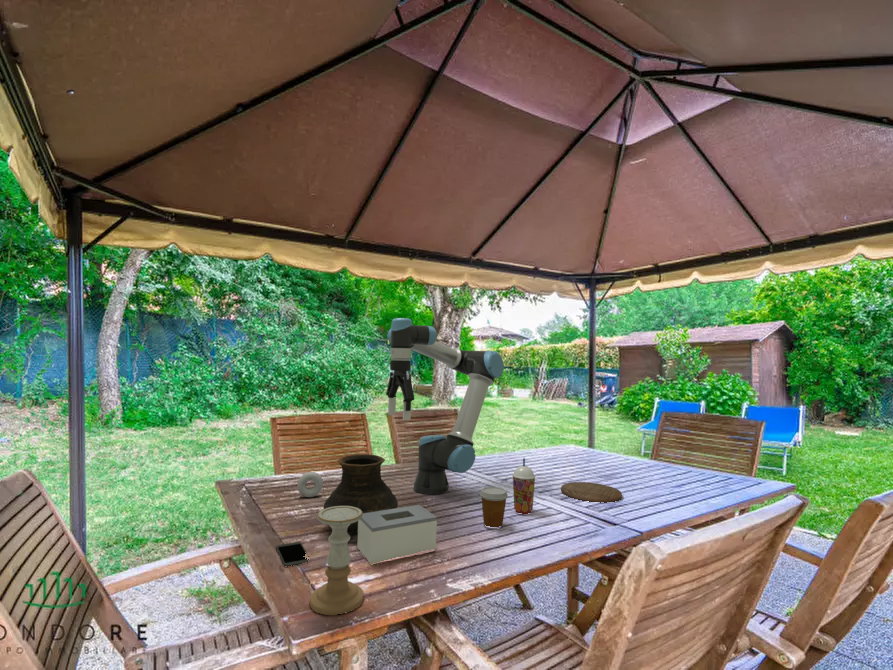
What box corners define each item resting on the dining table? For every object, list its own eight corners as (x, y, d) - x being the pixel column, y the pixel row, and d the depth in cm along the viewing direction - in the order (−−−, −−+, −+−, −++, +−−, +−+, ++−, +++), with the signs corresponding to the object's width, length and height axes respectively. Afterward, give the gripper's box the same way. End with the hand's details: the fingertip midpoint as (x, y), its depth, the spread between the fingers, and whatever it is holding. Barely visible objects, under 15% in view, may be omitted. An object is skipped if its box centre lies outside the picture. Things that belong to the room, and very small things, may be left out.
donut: (322, 494, 181) (323, 470, 181) (323, 497, 177) (324, 472, 178) (296, 496, 177) (297, 471, 178) (296, 499, 174) (297, 473, 175)
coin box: (418, 536, 141) (419, 504, 142) (435, 551, 131) (436, 517, 131) (357, 548, 131) (358, 514, 132) (371, 565, 121) (372, 528, 121)
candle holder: (297, 608, 100) (301, 517, 101) (330, 583, 111) (333, 501, 112) (344, 621, 95) (347, 526, 96) (373, 593, 107) (376, 508, 108)
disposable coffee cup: (489, 533, 145) (489, 496, 146) (474, 523, 154) (474, 488, 154) (512, 528, 150) (513, 492, 150) (496, 519, 158) (497, 485, 159)
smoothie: (507, 512, 166) (508, 458, 167) (520, 507, 172) (520, 455, 173) (526, 518, 160) (527, 462, 161) (538, 512, 166) (539, 458, 167)
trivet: (615, 508, 175) (615, 503, 175) (553, 496, 188) (553, 491, 188) (626, 492, 196) (626, 488, 196) (570, 483, 209) (570, 478, 209)
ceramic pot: (308, 528, 146) (311, 459, 147) (364, 510, 164) (366, 448, 165) (355, 550, 130) (358, 472, 132) (411, 527, 149) (413, 459, 150)
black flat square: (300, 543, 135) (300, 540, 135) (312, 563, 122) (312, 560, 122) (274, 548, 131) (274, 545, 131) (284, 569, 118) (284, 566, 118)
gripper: (378, 359, 174) (377, 413, 173) (405, 360, 152) (403, 422, 151) (396, 359, 177) (395, 412, 176) (424, 360, 156) (423, 421, 155)
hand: (398, 417), depth 164 cm, fingers open, 13 cm apart
